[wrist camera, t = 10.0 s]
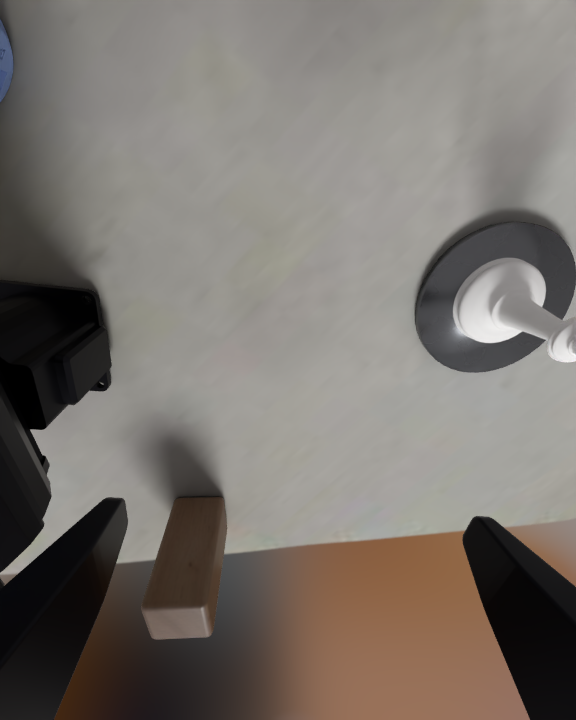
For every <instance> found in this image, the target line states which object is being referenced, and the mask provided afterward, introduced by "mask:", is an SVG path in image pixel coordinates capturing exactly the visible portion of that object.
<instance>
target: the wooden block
mask: <svg viewBox="0 0 576 720" xmlns="http://www.w3.org/2000/svg"><path fill="white" fill-rule="evenodd" d="M226 534H227V522H226V513H225V505H224V500H223V498H222V497H193V498H177V499H176V500H175V501H174V504H173V507H172V510H171V513H170V517H169V520H168V523H167V526H166V529H165V532H164V535H163V539H162V542H161V545H160V548H159V551H158V554H157V557H156V561H155V564H154V567H153V570H152V573H151V576H150V580H149V583H148V586H147V589H146V592H145V595H144V598H143V602H142V605H141V608H142V613H143V616H144V618H145V621H146V624H147V626H148V629H149V632H150V634H151V637H152V638H154V639H174V638H197V637H208V636H211V634H212V632H213V629H214V622H215V615H216V607H217V600H218V593H219V585H220V578H221V569H222V563H223V556H224V548H225V541H226Z"/></svg>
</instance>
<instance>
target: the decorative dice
mask: <svg viewBox="0 0 576 720" xmlns="http://www.w3.org/2000/svg"><path fill="white" fill-rule="evenodd" d="M12 75H13V55H12V50H11V46H10V42H9V39H8V36H7V33H6V31H5V28H4V26H3V23H2V21H1V19H0V102H1V101H2V99H3V98H4V96H5V95H6V93H7V91H8V89H9V86H10V83H11V80H12Z"/></svg>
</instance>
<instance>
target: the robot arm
mask: <svg viewBox="0 0 576 720" xmlns="http://www.w3.org/2000/svg"><path fill="white" fill-rule="evenodd" d="M85 296H88V297H89V298H90V299H91V302H88V301H87V300H86V298H85ZM111 366H112V364H111V357H110V350H109V343H108V335H107V330H106V329H105V327H104V326H103V322H102V315H101V308H100V301H99V297H98V295H97V294H96V293H95V292H94V291H92V290H89V289H81V288H72V287H62V286H53V285H43V284H34V283H24V282H15V281H5V280H0V572H2V571H3V570H4V569H5V568H6V567H7V566H8V565H9V564H11V563H12V562H13V561H14V560H15V559H16V558H17V557H18V556H19V555H20V554H21V553H22V552H23V551H24V550H25V549H26V548H27V547H28V546H29V545H30V544H31V543H32V542H33V540H34V539H35V538H36V537H37V535H38V534H39V533H40V531H41V530H42V529H43V527H44V521H43V520H42V519H43V517H44V515H45V513H46V510H47V507H48V505H49V502H50V499H51V488H50V481H49V479H48V477H47V472H48V469H49V466H50V464H49V462H48V460H47V458H46V456H42V454H41V452H40V450H39V447H38V445H37V443H36V441H35V439H34V437H33V435H32V433H31V431H30V429H37V430H43V429H45V428H46V427H47V426H48V425H49V424H50V423H51V422H52V421H53V420H54V419H55V418H56V417H57V416H58V415H59V414H60V413H61V412H62V411H63V410H64V409H65V408H66V406H67V405H75V404H76V403H78V402H79V401H80V400H81V399H82V398H83V397H84V395H85V394H86V393H87V392H88V391H89V390H90V391H105V390H107V389H108V388H109V386H110V385H111V378H110V371H109V368H110V367H111ZM99 381H101V382H103V383H104V385H102V384H100V383H99ZM127 525H128V518H127V511H126V504H125V500H124V499H123V498H112V497H108V498H105V499H103V500H102V501H101V502H100V503H99V504H98V505H96V506H95V507H94V508H93V509H92V510H91V511H90V512H88V513H87V514H86V515H85V516H84V517H83V518H82V519H80V520H79V521H78V522H77V523H76V524H75V525H74V526H72V527H71V528H70V529H69V530H68V531H67V532H65V533H64V534H63V535H62V536H61V537H60V538H59V539H57V540H56V541H55V542H54V543H53V544H52V545H51V546H49V547H48V548H47V549H46V550H45V551H44V552H43V553H41V554H40V555H39V556H38V557H37V558H36V559H35V560H33V561H32V562H31V563H30V564H29V565H28V566H27V567H25V568H24V569H23V570H22V571H21V572H20V573H19V574H17V575H16V576H15V577H14V578H13V579H12V580H11V581H9V582H8V583H7V584H6V585H5V586H4V583H3V581H2V580H1V579H0V720H54V718H55V715H56V713H57V711H58V708H59V706H60V704H61V701H62V699H63V696H64V694H65V692H66V690H67V687H68V685H69V682H70V680H71V677H72V675H73V673H74V671H75V668H76V666H77V663H78V661H79V659H80V657H81V654H82V652H83V649H84V647H85V644H86V642H87V640H88V638H89V635H90V633H91V630H92V628H93V626H94V624H95V621H96V619H97V616H98V614H99V612H100V609H101V607H102V604H103V602H104V599H105V596H106V593H107V590H108V587H109V584H110V581H111V578H112V574H113V571H114V568H115V565H116V562H117V559H118V555H119V552H120V549H121V546H122V543H123V540H124V536H125V533H126V530H127ZM463 545H464V549H465V552H466V555H467V558H468V561H469V564H470V567H471V571H472V573H473V576H474V580H475V583H476V586H477V589H478V592H479V595H480V598H481V601H482V604H483V607H484V610H485V612H486V615H487V617H488V620H489V622H490V624H491V627H492V629H493V632H494V634H495V637H496V639H497V641H498V644H499V646H500V648H501V651H502V653H503V656H504V658H505V661H506V663H507V665H508V668H509V670H510V672H511V675H512V677H513V680H514V682H515V684H516V687H517V689H518V692H519V694H520V696H521V699H522V701H523V704H524V706H525V708H526V711H527V713H528V715H529V718H530V720H576V587H575V586H574V585H573V584H572V583H570V582H569V581H568V580H567V579H565V578H564V577H563V576H562V575H561V574H559V573H558V572H557V571H556V570H555V569H553V568H552V567H551V566H550V565H548V564H547V563H546V562H545V561H544V560H543V559H541V558H540V557H539V556H538V555H536V554H535V553H534V552H532V550H530V549H529V548H528V547H527V546H525V545H524V544H523V543H522V542H521V541H519V540H518V539H517V538H516V537H515V536H513V535H512V534H511V533H510V532H509V531H507V530H506V529H505V528H504V527H502V526H501V525H500V524H499V523H498V522H496V521H495V520H494V519H492V518H490V517H484V516H475V517H474V518H473V519H472V520H471V522H470V524H469V525H468V527H467V529H466V531H465V532H464V534H463Z"/></svg>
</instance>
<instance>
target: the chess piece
mask: <svg viewBox="0 0 576 720" xmlns="http://www.w3.org/2000/svg"><path fill="white" fill-rule="evenodd" d="M545 295H546V285H545V281H544V278H543V276H542V274H541V273H540V271H539V270H538V269H537V268H536V267H534V266H533V265H531V264H529V263H527V262H525V261H523V260H521V259H517V258H501V259H496V260H493V261H490V262H488V263H486V264H484V265H482V266H481V267H479V268H478V269H476V270H475V271H474V272H473V273H472V274H471V275H470V276H469V277H468V278H467V279H466V280H465V281H464V282H463V284H462V285H461V287H460V288H459V290H458V292H457V294H456V297H455V300H454V304H453V318H454V322H455V324H456V326H457V328H458V329H459V330H460V332H462V333H463V334H464V335H465V336H467V337H469V338H471V339H474V340H476V341H479V342H483V343H496V342H501V341H505V340H508V339H510V338H512V337H514V336H516V335H518V334H519V333H521V332H522V331H523V332H526V333H529V334H532V335H534V336H537V337H540V338H542V339H545V340H547V341H548V342H547V352H548V354H549V356H550V357H551V358H553V359H554V360H557V361H561V362H574V361H576V317H573V318H570V319H568V320H566V321H563V320H561V319H560V318H558V317H556V316H555V315H553V314H551V313H550V312H548V311H547V310H545V309H544V308H542V306H543V303H544V300H545Z"/></svg>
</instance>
